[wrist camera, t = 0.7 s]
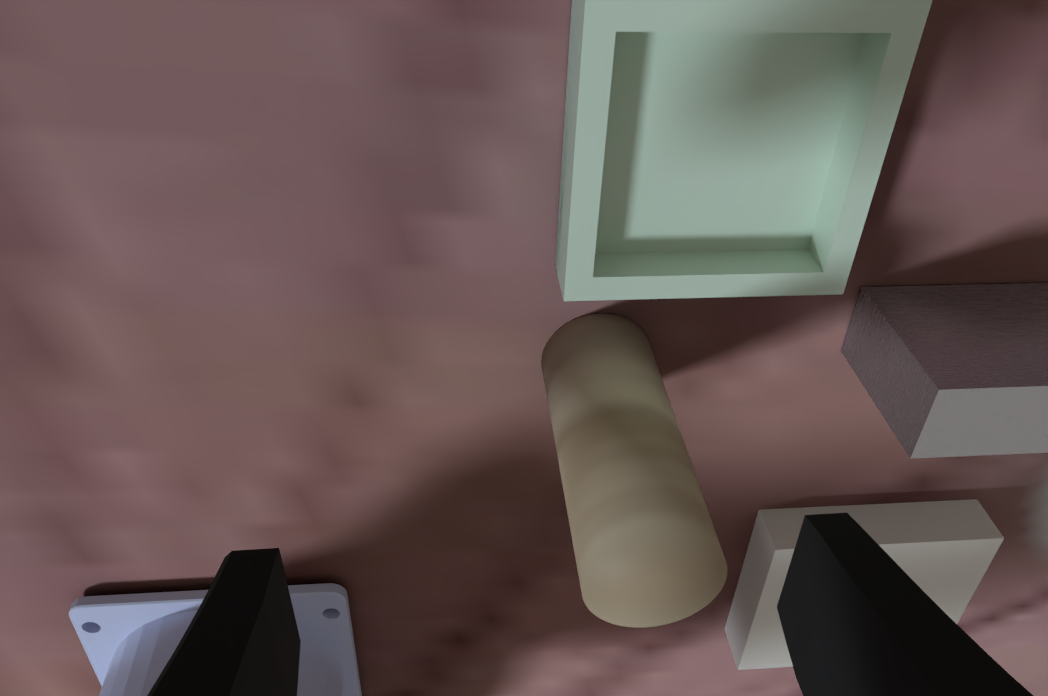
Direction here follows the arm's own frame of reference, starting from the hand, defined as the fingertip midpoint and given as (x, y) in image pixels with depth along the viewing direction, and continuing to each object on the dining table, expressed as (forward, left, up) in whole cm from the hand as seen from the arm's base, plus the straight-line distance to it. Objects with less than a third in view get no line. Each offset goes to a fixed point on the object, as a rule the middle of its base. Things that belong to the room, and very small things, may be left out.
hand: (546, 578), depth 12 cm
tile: (-12, -12, -10) cm, 20 cm away
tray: (+3, -5, -10) cm, 11 cm away
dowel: (-3, -3, -10) cm, 10 cm away
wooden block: (-2, -12, -10) cm, 15 cm away
